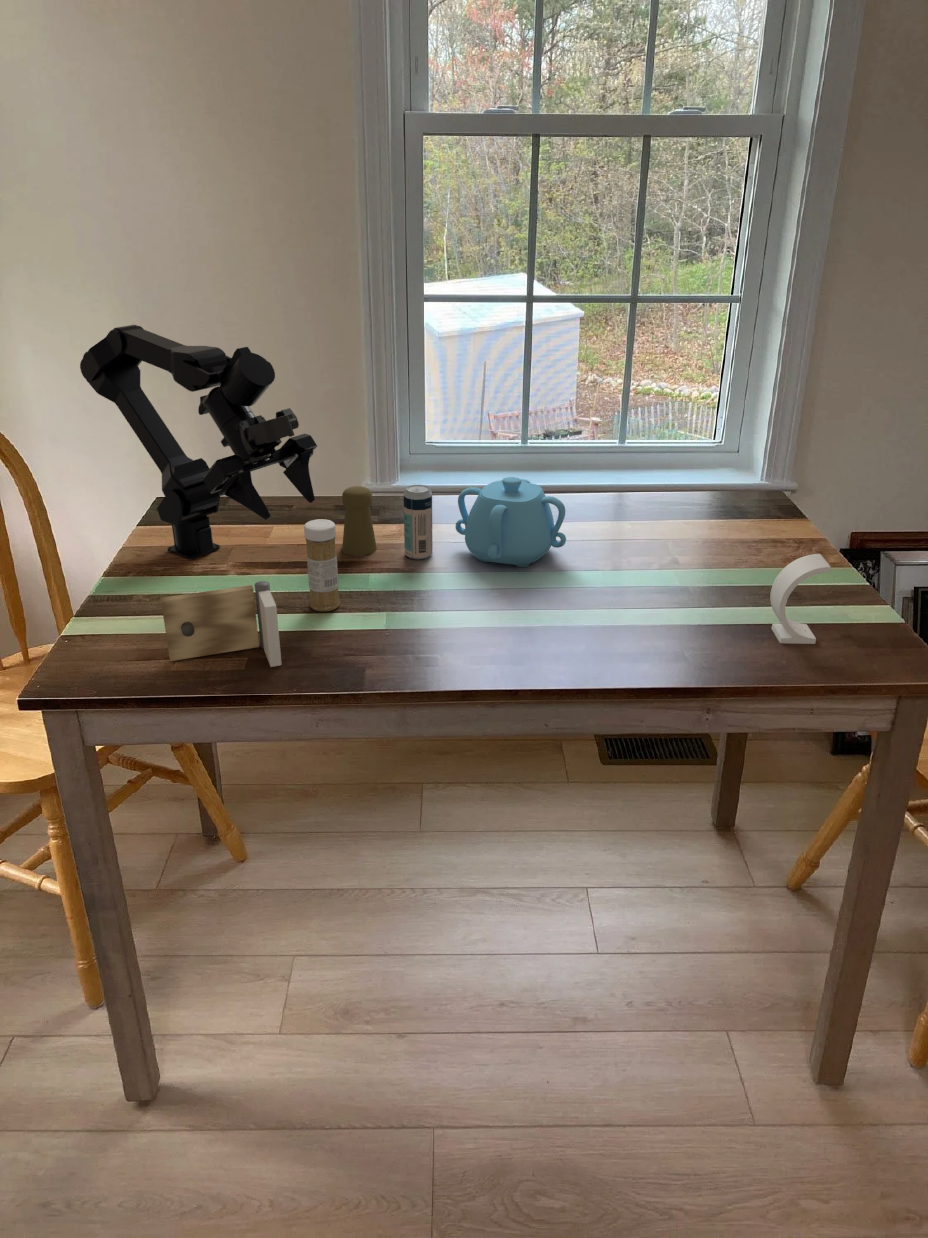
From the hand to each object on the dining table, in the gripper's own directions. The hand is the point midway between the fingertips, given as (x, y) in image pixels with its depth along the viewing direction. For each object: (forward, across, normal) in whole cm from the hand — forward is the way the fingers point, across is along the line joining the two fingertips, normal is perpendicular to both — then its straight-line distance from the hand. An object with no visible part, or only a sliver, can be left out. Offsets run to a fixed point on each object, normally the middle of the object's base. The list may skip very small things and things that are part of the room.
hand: (291, 509), depth 143 cm
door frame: (+18, -17, 0) cm, 25 cm away
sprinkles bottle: (+15, -2, +3) cm, 16 cm away
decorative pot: (+22, +32, -5) cm, 40 cm away
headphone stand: (+55, +33, -41) cm, 76 cm away
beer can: (+14, +22, +4) cm, 27 cm away
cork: (+8, +18, +12) cm, 23 cm away
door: (+14, -22, +4) cm, 27 cm away
